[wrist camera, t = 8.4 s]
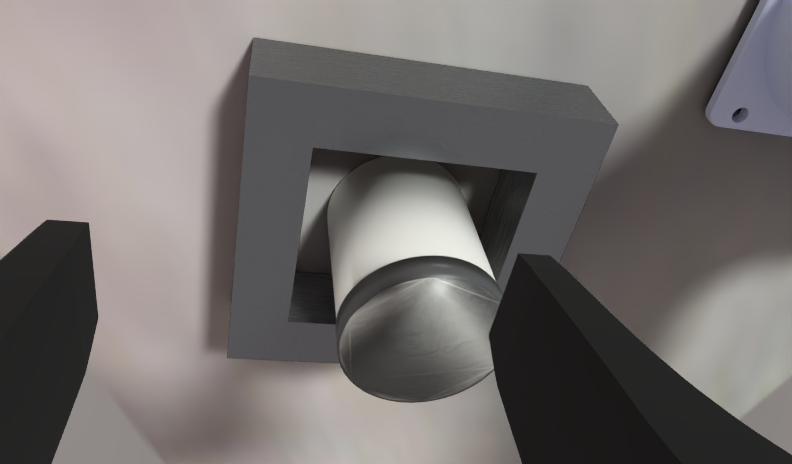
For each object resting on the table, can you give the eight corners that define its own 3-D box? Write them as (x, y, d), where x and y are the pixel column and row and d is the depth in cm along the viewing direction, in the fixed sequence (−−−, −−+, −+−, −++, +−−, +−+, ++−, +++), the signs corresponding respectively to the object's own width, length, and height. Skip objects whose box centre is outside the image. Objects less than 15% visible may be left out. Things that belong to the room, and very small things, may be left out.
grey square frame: (587, 85, 21) (618, 124, 19) (496, 322, 26) (512, 371, 24) (253, 37, 19) (248, 75, 17) (232, 306, 24) (227, 358, 22)
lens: (492, 208, 23) (547, 333, 18) (394, 289, 25) (421, 423, 20) (398, 125, 21) (432, 244, 16) (295, 220, 22) (299, 354, 18)
